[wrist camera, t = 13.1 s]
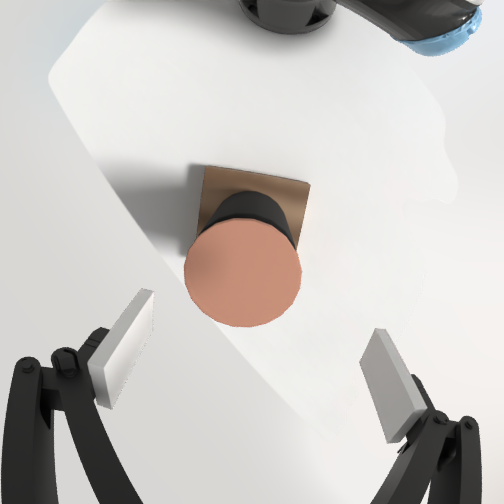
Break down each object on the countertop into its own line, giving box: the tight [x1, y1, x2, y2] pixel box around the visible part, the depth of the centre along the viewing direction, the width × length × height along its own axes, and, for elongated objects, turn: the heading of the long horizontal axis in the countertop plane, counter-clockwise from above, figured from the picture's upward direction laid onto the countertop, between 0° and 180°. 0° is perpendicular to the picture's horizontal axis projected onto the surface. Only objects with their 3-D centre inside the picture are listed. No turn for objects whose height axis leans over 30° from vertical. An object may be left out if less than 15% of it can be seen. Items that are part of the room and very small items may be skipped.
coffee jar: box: [184, 191, 302, 327], centre depth 35 cm, size 11×11×18 cm
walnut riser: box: [196, 166, 310, 250], centre depth 45 cm, size 15×15×3 cm
